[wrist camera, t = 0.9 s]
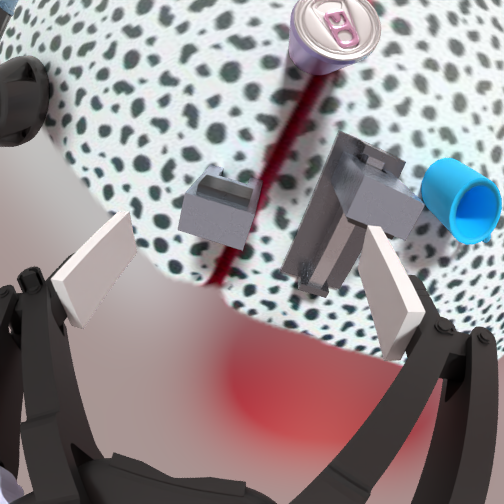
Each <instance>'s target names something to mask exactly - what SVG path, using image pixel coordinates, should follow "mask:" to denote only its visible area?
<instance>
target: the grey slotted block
mask: <svg viewBox="0 0 504 504" xmlns="http://www.w3.org/2000/svg"><path fill="white" fill-rule="evenodd" d="M405 163H406V162H405V161H403V160H402V159H400V158H398V157H396V156H394V155H392V154H390V153H388V152H386V151H384V150H382V149H380V148H377V147H375V146H373V145H371V144H369V143H367V142H365V141H362V140H360V139H358V138H356V137H353V136H351V135H349V134H346V133H344V132H342V131H338V133H337V136H336V138H335V141H334V143H333V146H332V148H331V151H330V153H329V156H328V158H327V161H326V163H325V166H324V168H323V171H322V173H321V175H320V178H319V180H318V183H317V185H316V188H315V190H314V192H313V195H312V197H311V200H310V202H309V204H308V207H307V209H306V211H305V214H304V216H303V218H302V221H301V223H300V225H299V228H298V230H297V232H296V235H295V237H294V239H293V242H292V244H291V246H290V248H289V251H288V253H287V255H286V258H285V260H284V262H283V264H282V267H281V271H283V272H286V273H290V274H293V275H296V276H298V290H301V291H305V292H308V293H311V294H315V295H318V296H321V297H325V298H326V297H327V295H328V293H329V289H328V286H331V287H335V288H338V289H339V288H340V287H341V285H342V283H343V282H344V280H345V278H346V277H347V275H348V273H349V272H350V270H351V268H352V266H353V265H354V263H355V261H356V259H357V258H358V256H359V254H360V252H361V250H362V248H363V244H364V239H365V235H366V230H367V226H368V225H370V226H380V227H381V228H382V230H383V231H384V233H385V235H386V237H387V238H389V239H391V240H392V239H393V237H394V236H396V237H398V238H400V239H403V240H406V239H407V237H408V235H409V233H410V232H411V230H412V228H413V226H414V225H415V223H416V221H417V219H418V217H419V215H420V213H421V212H422V210H423V208H424V206H425V204H424V203H423V202H422V201H421V200H420V199H419V198H418V197H417V196H416V195H415V194H414V193H413V192H412V191H411V190H410V189H409V188H408V187H407V186H406V185H405V184H403V183H402V182H401V181H400V180H399V179H398V178H399V176H400V174H401V172H402V170H403V168H404V165H405Z"/></svg>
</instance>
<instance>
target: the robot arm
mask: <svg viewBox="0 0 504 504" xmlns="http://www.w3.org/2000/svg"><path fill="white" fill-rule="evenodd" d="M17 2H18V0H0V40H1V38H2V36H3V33H4V31H5V29H6V27H7V24H8V22H9V20H10V18H11V16H13V14H14V9H15V7H16V5H17ZM48 103H49V81H48V76H47V73H46V70H45V68H44V66H43V64H42V63H41V62H40V60H38V59H37V58H35V57H33V56H19V57H15V58H12V59H10V60H8V61H6V62H5V63H3V64H1V65H0V147H14V146H18V145H21V144H23V143H26V142H28V141H30V140H31V139H32V138H34V137H35V135H36V134H37V133H38V131H39V130H40V128H41V126H42V124H43V122H44V119H45V117H46V113H47V109H48ZM136 254H137V249H136V244H135V239H134V234H133V229H132V223H131V218H130V212H120V211H118V212H117V213H116V214H115V215H114V216H113V217H112V218H111V219H110V220H109V221H108V222H106V223H105V224H104V225H103V226H102V227H101V228H100V229H99V230H98V231H97V232H96V233H95V234H94V235H93V236H92V237H91V238H90V239H89V240H88V241H87V242H86V243H85V244H84V245H83V246H82V247H81V248H80V249H79V250H78V251H76V252H75V253H73V254H72V255H70V256H69V257H68V258H67V259H66V260H65V261H64V262H63V263H62V264H61V265H60V266H59V268H57V269H56V270H55V271H54V272H53V273H52V275H51V276H50V277H49V278H48V279H47V280H46V281H45V280H44V278H43V275H42V273H41V270H40V268H38V267H30V268H28V269H26V270H24V271H23V272H21V273H20V275H19V276H18V278H17V281H18V283H19V285H20V287H21V290H22V292H23V293H16V291H15V289H14V287H13V286H12V285H7V286H3V287H1V288H0V504H277V503H276V502H275V501H273V500H272V499H270V498H269V497H268V496H266V495H264V494H262V493H260V492H258V491H256V490H253V489H251V488H248V487H246V482H243V481H234V480H226V479H219V478H212V477H206V478H173V477H170V476H168V475H166V474H164V473H162V472H160V471H159V470H157V469H155V468H153V467H151V466H149V465H148V464H145V463H144V462H142V461H139V460H135V459H132V458H129V457H126V456H123V455H120V454H117V453H113V456H112V458H104V457H103V455H102V454H101V452H100V451H99V449H98V448H97V446H96V444H95V441H94V438H93V435H92V433H91V430H90V427H89V424H88V420H87V417H86V414H85V410H84V407H83V403H82V400H81V396H80V393H79V389H78V385H77V380H76V376H75V372H74V367H73V362H72V358H71V353H70V347H69V341H68V335H67V329H66V326H65V324H64V320H65V319H66V318H67V317H68V319H69V321H70V323H71V325H72V326H74V327H78V328H82V329H84V328H85V326H86V325H87V323H88V322H89V320H90V318H91V317H92V315H93V314H94V312H95V311H96V310H97V308H98V307H99V305H100V303H101V302H102V300H103V299H104V298H105V296H106V295H107V293H108V292H109V291H110V289H111V288H112V286H113V285H114V284H115V282H116V281H117V279H118V278H119V277H120V275H121V274H122V272H123V271H124V270H125V268H126V267H127V266H128V264H129V263H130V262H131V260H132V259H133V258H134V256H135V255H136ZM358 271H359V274H360V277H361V281H362V284H363V287H364V290H365V293H366V297H367V300H368V303H369V307H370V310H371V313H372V317H373V321H374V324H375V328H376V331H377V335H378V339H379V343H380V347H381V351H382V355H383V359H384V361H394V360H401V358H402V356H403V354H404V353H405V351H406V354H407V357H408V359H407V361H406V362H405V364H404V366H403V367H402V369H401V371H400V372H399V374H398V375H397V377H396V378H395V380H394V382H393V383H392V385H391V386H390V388H389V389H388V390H387V392H386V393H385V395H384V396H383V398H382V399H381V401H380V402H379V404H378V405H377V406H376V408H375V409H374V410H373V412H372V413H371V415H370V416H369V417H368V418H367V420H366V421H365V422H364V424H363V425H362V426H361V427H360V429H359V430H358V431H357V432H356V434H355V435H354V436H353V437H352V439H351V440H350V441H349V442H348V443H347V445H346V446H345V447H344V448H343V449H342V450H341V452H340V453H339V454H338V455H337V456H336V457H335V458H334V459H333V461H332V462H331V463H330V464H329V465H328V466H327V467H326V468H325V469H324V470H323V471H322V472H321V473H320V474H319V476H317V477H316V478H315V479H314V480H313V481H312V482H311V483H310V484H309V485H308V486H307V488H305V489H304V490H303V491H302V492H301V493H300V494H299V495H298V496H297V497H296V498H295V499H294V500H292V502H290V503H289V504H365V503H366V501H367V500H368V498H369V496H370V493H371V490H372V488H373V486H374V485H375V484H376V482H377V481H378V480H379V479H380V477H381V476H382V475H383V473H384V472H385V470H386V469H387V468H388V466H389V465H390V463H391V462H392V460H393V459H394V457H395V456H396V454H397V453H398V451H399V450H400V448H401V447H402V445H403V443H404V442H405V440H406V438H407V437H408V435H409V434H410V432H411V430H412V428H413V427H414V425H415V423H416V422H417V420H418V418H419V416H420V414H421V412H422V411H423V409H424V407H425V405H426V403H427V401H428V399H429V397H430V395H431V393H432V391H433V389H434V386H435V385H436V383H437V380H438V378H442V379H443V384H442V391H441V397H440V403H439V408H438V413H437V419H436V423H435V428H434V431H433V436H432V440H431V444H430V448H429V451H428V455H427V458H426V462H425V465H424V468H423V472H422V474H421V478H420V480H419V484H418V486H417V489H416V492H415V494H414V497H413V500H412V502H411V504H484V503H485V500H486V495H487V491H488V486H489V482H490V477H491V472H492V466H493V459H494V452H495V444H496V434H497V420H498V360H497V347H496V340H495V337H494V336H493V334H492V333H491V332H490V331H489V330H488V329H486V328H484V327H475V328H474V329H473V330H472V332H471V333H470V335H469V334H465V333H461V332H457V331H456V329H455V326H454V325H453V324H452V322H450V321H449V320H448V319H446V318H443V317H440V315H439V313H438V311H437V309H436V307H435V305H434V303H433V301H432V299H431V297H429V294H428V292H427V291H426V288H425V286H424V284H423V282H422V281H421V280H420V279H418V278H417V277H416V276H415V275H407V273H406V271H405V269H404V267H403V265H402V263H401V262H400V260H399V258H398V256H397V254H396V252H395V251H394V249H393V247H392V245H391V243H390V242H389V240H388V238H387V237H386V235H385V233H384V231H383V230H382V228H381V227H380V226H370V225H368V226H367V230H366V235H365V239H364V244H363V248H362V252H361V257H360V261H359V265H358ZM8 327H10V329H11V333H9V328H8ZM23 392H24V399H25V407H26V415H27V421H26V422H22V423H21V411H22V401H23V400H22V399H23ZM20 423H21V425H20ZM20 433H21V439H22V445H23V450H24V455H25V460H26V464H27V469H28V472H29V477H30V480H31V484H32V487H33V492H31V493H29V494H27V495H25V496H24V491H23V489H22V487H21V486H20V485H18V484H17V476H18V468H19V445H20Z"/></svg>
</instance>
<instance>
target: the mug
mask: <svg viewBox="0 0 504 504" xmlns="http://www.w3.org/2000/svg"><path fill="white" fill-rule="evenodd" d="M421 193H422V198H423V201H424V203H425V205H426V207H427V208H428V209H429V210H430V211H431V212H432V213H433V214H434V215H435V216H436V217H437V218H438V219H439V221H440V222H441V223H442V224H443V225H444V226H445V227H446V228H447V229H448V230H449V231H450V233H451V234H452V235H453V236H454V237H455V238H456V239H457V240H458V241H459V242H461V243H464V244H466V245H467V244H476V243H478V242H481V241H482V242H484V243H487V242H489V240H490V238H491V232H492V231H493V230H494V228H495V227H496V225H497V223H498V220H499V218H500V214H501V209H502V198H501V195H500V192H499V189H498V188H497V186H496V185H495V184H494V182H492V181H491V180H489V179H487V178H486V177H484V176H483V175H481V174H479V173H478V172H476V171H474V170H473V169H471V168H469V167H468V166H466V165H464V164H462V163H461V162H459V161H457V160H455V159H453V158H443V159H440V160H437V161H436V162H435V163H433V164H432V165H431V166H430V167H429V169H428V170H427V171H426V173H425V175H424V178H423V181H422V188H421Z"/></svg>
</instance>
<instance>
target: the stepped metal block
mask: <svg viewBox="0 0 504 504" xmlns="http://www.w3.org/2000/svg"><path fill="white" fill-rule="evenodd" d="M223 169H224V168H221V167H217V166H214V165H210V166H209V167H208V168H207V170H206V171H205V172H204V173H203V174H202V175H201V176H200V177H199V178H198V179H197V180H196V181H195V182H194V184H193V185H192V186H191V187H190V188H189V189H188V190H187V191H186V192H185V196H184V201H183V206H182V210H181V215H180V220H179V226H178V230H180V231H183V232H186V233H189V234H192V235H195V236H198V237H202V238H205V239H208V240H211V241H214V242H217V243H220V244H223V245H227V246H230V247H233V248H236V249H239V250H242V251H243V248H244V245H245V242H246V239H247V236H248V233H249V230H250V227H251V224H252V222H253V219H254V216H255V212H256V208H257V204H258V200H259V196H260V192H261V188H262V184H263V181H262V180H259V179H256V178H253V177H250V179H249V182H248V184H244V183H241V182H238V181H235V180H232V179H228V178H225V177H222V172H223Z"/></svg>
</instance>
